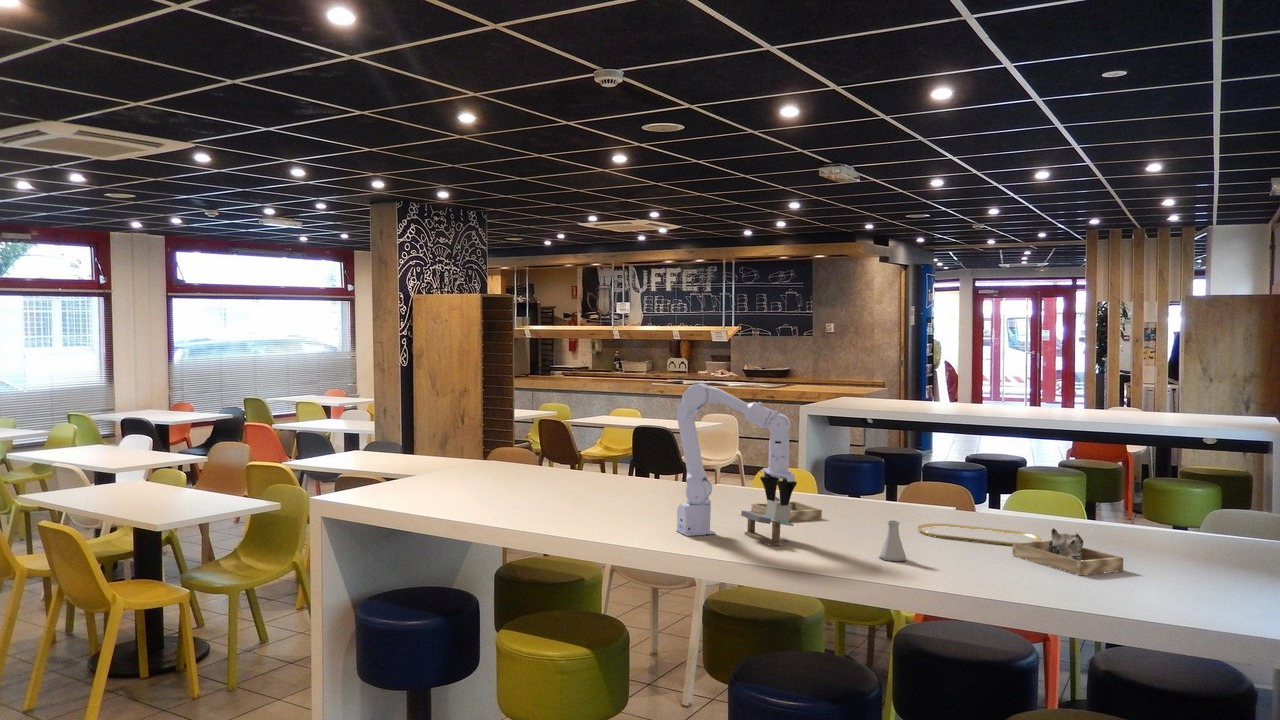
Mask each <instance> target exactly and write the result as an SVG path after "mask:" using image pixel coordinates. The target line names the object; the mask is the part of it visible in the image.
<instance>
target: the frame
mask: <svg viewBox="0 0 1280 720" xmlns="http://www.w3.org/2000/svg"><path fill="white" fill-rule="evenodd" d="M748 511H749V510H748ZM749 512H754V511H751V510H750V511H749ZM754 513H755V512H754ZM771 523H772V524H771V529H772V530H771V538H770V537H767V536H766V535H762V534H761V533H758V532H756V521H754V520H751V519H749V518H747V531H744V535H745V534H746V535H745V536H747V535H748V537H750V536H751V537H750V538H752V537H753V538H752V539H754V538H755V539H754V540H757V539H758V540H757V541H759V540H760V542H761V541H762V543H764V542H765V543H764V544H766V543H767V544H766V545H768V544H770V545H769V546H771V545H772V547H778V546H777V545H781V546H782V544H781V524H780V521H778V520H773V521H772V522H771Z"/></svg>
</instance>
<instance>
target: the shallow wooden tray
mask: <svg viewBox="0 0 1280 720" xmlns="http://www.w3.org/2000/svg"><path fill="white" fill-rule="evenodd" d="M1050 541H1053V540H1052V539H1049V540H1048V539H1046V540H1042V541H1034V540H1032V541H1022V542H1018V543H1013V546H1012V555H1014V556H1013V557H1015V556H1017V557H1016V558H1018V557H1020V558H1019V559H1021V558H1023V559H1022V560H1025V559H1027V560H1026V561H1028V560H1029V562H1031V561H1033V562H1032V563H1035V562H1036V563H1035V564H1038V563H1039V564H1038V565H1041V564H1043V565H1042V566H1045V565H1047V566H1046V567H1048V566H1051V567H1054V568H1053V569H1055V568H1057V569H1056V570H1058V569H1061V570H1060V571H1062V570H1065V571H1068V572H1071V573H1070V574H1072V573H1074V574H1073V575H1075V574H1078V575H1084V576H1087V575H1086V574H1094V575H1096V574H1095V573H1103V574H1105V573H1104V572H1113V573H1115V572H1114V571H1123V572H1124V557H1122V556H1118V555H1113V554H1109V553H1106V552H1102V551H1098V550H1096V549H1092V548H1087V547H1082V555H1081V560H1083V561H1079V560H1075V559H1072V558H1068V557H1065V556H1061V555H1057V554H1054V553H1050V552H1049V543H1050ZM1078 554H1079V553H1078ZM1012 555H1011V556H1012ZM1051 567H1050V568H1051ZM1065 571H1064V572H1065ZM1068 572H1067V573H1068ZM1078 575H1077V576H1078Z"/></svg>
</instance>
